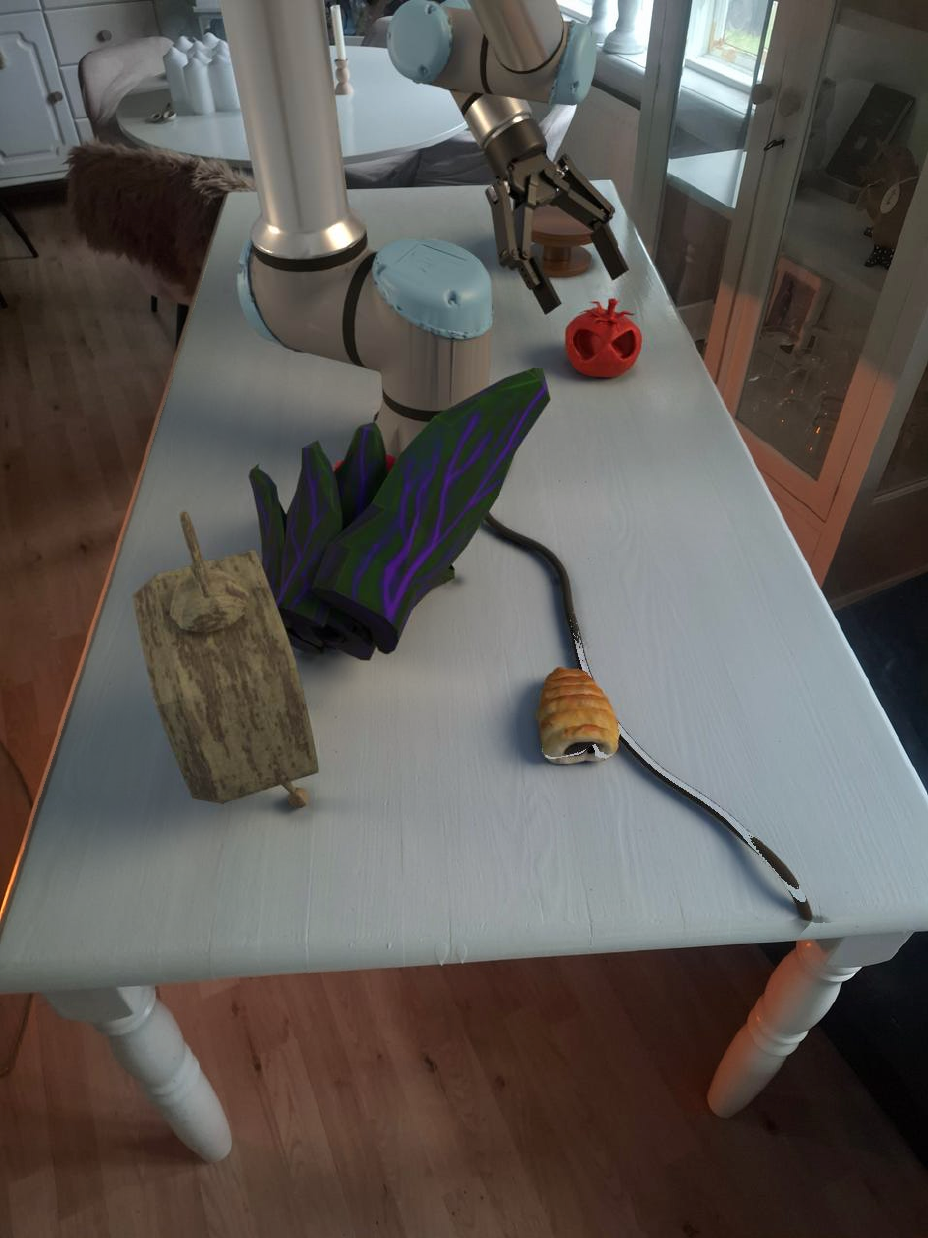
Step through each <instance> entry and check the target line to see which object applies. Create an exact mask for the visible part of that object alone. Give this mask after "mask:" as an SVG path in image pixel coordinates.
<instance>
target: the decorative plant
mask: <svg viewBox="0 0 928 1238" xmlns="http://www.w3.org/2000/svg"><path fill="white" fill-rule="evenodd" d="M550 401H551V395H550V391H549V387H548V382H547V379H546V375H545V370H544V368H543V367H530V368H529V369H526V370H522V371H520V372H517V373H515V374H511V375H508V376H506V377H503V378H502V379H499V380H498V381H496V382H494V383H493V384H490V385H489V387H487V388H485V389H483V390H482V391H480V392H478V393H476V394H474V395H472V396H471V397H469V398H467V399H465V400H463V401H461V402H460V403H458V404H456V405H454V406H452V407H451V408H449V409H447V410H445V411H443V412H441V413H440V414H438V415H436V416H434V418H433V419H432V420H431V421H430V422H429V423H428V424H427V425H426V426H425V427H424V429H423V430H422V431H421V432H420V433H419V434H418V435H417V436H416V437H415V438H414V440H413V441H412V442H411V443H410V444H409V445H408V446H407V447H406V448H405V450H404V451H403V452H402V453H401V454H400V455H399V457H398V459H397V460H396V459H395V458H394V457H393V456H391V455H388V454H386V450H385V446H384V442H383V437H382V434H381V431H380V429H379V428H378V426H377V424H376V421H375V422H373V421H371V422H368V423H365V424H362V425H359V426H358V427H357V429H356V430H355V431H354V434H353V436H352V439H351V442H350V444H349V445H348V449H347V451H346V453H345V455H344V459H341V460H339V461H337V462H336V464H335V466H334V468H333V466H332V463H331V461H330V460H329V458H328V457H327V455H326V453H325V451H324V450H323V448H322V446H321V443H320V441H319V440H318V439H317V440H315V441H314V442H312V443H311V442H310V443H309V444H308V445H306V446H304V447H302V448H301V460H300V461H301V463H300V464H301V467H300V472H299V477H298V479H297V481H298V482H297V484H296V490H295V493H294V495H293V497H292V499H291V502H290V504H289V506H288V509H287V511H286V512H285V509H284V508H283V505H282V503H281V500H280V498H279V492H278V487H277V486H278V485H276V483H275V482H274V480H273V479H272V478H271V476H270V475H269V474H268V473H266V472H265V471H264V470H262V469H261V468H260V467H259V466H260V463H261V462H259V463H258V464H256V465H255V466H254V467H253V468H251V469H250V471H249V474H248V480H249V483H250V486H251V489H252V494H253V499H254V503H255V507H256V513H257V518H258V526H259V533H260V541H261V543H260V544H261V545H260V546H261V565H262V567H263V570H264V573H265V575H266V578H267V580H268V583H269V586H270V588H271V591H272V594H273V596H274V599H275V602H276V605H277V608H278V611H279V613H280V616H281V619H282V622H283V625H284V627H285V630H286V633H287V636H288V639H289V642H290V645H291V647H293V648H295V649H297V650H299V651H301V652H303V653H306V654H307V653H308V654H313V655H317V656H318V655H323V652H324V650H325V649H326V650H338V651H340V652H342V653H344V654H347V655H349V656H351V657H353V658H355V659H358V660H360V661H368V662H370V661H371V659H372V657H373V654H374V653H375V650H376V649H377V650H378V652H380V653H382V654H384V655H389V654H391V653H393V652H394V651H396V649H397V647H398V644H399V642H400V639H401V636H402V635H403V632H404V631H405V628H406V625H407V624H408V623H407V622H408V620H409V619H410V615H411V614H412V611H413V610H414V608H415V607H416V606H417V605H418V604H420V602H421V601H422V600H423V599H424V598H425V597H426V596H427V595H428V594H429V593H430V592H431V591H432V590H434V589H436V588H437V587H439V586H441V585H443V584H445V583H446V582H449V581H453V580H455V578H456V575H455V574H456V573H455V571H456V569H455V567H454V565H453V564H454V562H456V560H457V559H458V558H459V557H460V555H461V554H463V552H464V551H465V549H466V548H468V546H469V544H470V542H471V541H472V540H473V538H474V536H475V534H476V533H477V532H478V530H479V528H480V527H481V525H482V523H483V522H484V521H485V520H484V519H485V517H486V515H487V514H488V512H490V511H491V509H492V507H493V506H494V504H495V502H496V501H497V500H498V499H499V496H500V493H501V491H502V489H503V485H504V483H505V480H506V478H507V475H508V472H509V470H510V468H511V465H512V463H513V460H514V457H515V454H516V452H517V451H518V450H519V448H520V446H521V445H522V443H523V442H524V440H525V439H526V437H527V436H528V434H529V433H530V431H532V428H533V427H534V425H535V424H536V422H537V421H538V419H539V418H540V416H541V415H542V414H543V412H544V410H545V409H546V407H547V406H548V405H549V403H550Z"/></svg>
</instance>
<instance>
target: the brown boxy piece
mask: <svg viewBox="0 0 928 1238" xmlns="http://www.w3.org/2000/svg"><path fill="white" fill-rule="evenodd" d="M179 521H180V525H181V530H182V534H183V537H184V539H185V543H186V546H187V549H188V553H189V556H190V559H191V563H190V565H188V566H184V567H180V568H176V569H172V570H168V571H164V572H160V573H155V574H154V575H152V576H151V578H150V579H148V581H147V582H145V583H144V584H143V585H142V586H141V587H140V588H139V589H138V590H137V591H136V592H135V593H133V594H132V600H133V601H132V602H133V607H134V612H135V618H136V622H137V627H138V633H139V638H140V643H141V648H142V652H143V656H144V661H145V666H146V670H147V674H148V679H149V684H150V689H151V693H152V696H153V700H154V703H155V707H156V710H157V713H158V716H159V719H160V723H161V724H162V725H161V726H162V727H163V731H164V733H165V735H166V738H167V741H168V743H169V746H170V748H171V751H172V753H173V756H174V758H175V762H176V764H177V767H178V769H179V770H180V771H179V772H180V773H181V776H182V778H183V780H184V782H185V783H184V784H185V785H186V788H187V790H188V793H189V794H190V796H191V797H192V799H195V800H200V801H205V802H209V803H216V804H220V805H224V804H227V803H229V802H233V801H236V800H239V799H241V798H245V797H248V796H250V795H254V794H257V793H260V792H262V791H266V790H269V789H273V788H275V787H279V786H282V787H283V789H285V790H286V791H287V792H288V793H289V794H288V803H289V804H290V805H291V806H292V807H293V808H295V809H302V808H304V807H306V806H307V804H308V803H309V802H310V794H309V792H308V791H307V790H306V789H305V788H304V787H298V786H297V787H295V786H294V785H293V781H297V780H301V779H304V778H307V777H309V776H313V775H315V774H318V773H319V769H320V767H319V763H318V756H317V750H316V745H315V744H316V743H315V739H314V738H315V737H314V734H313V729H312V724H311V720H310V714H309V711H308V706H307V701H306V696H305V692H304V688H303V684H302V679H301V676H300V675H301V674H300V672H299V667H298V664H297V661H296V657H295V655H294V651H293V648H292V646H291V645H290V642H289V639H288V636H287V633H286V630H285V627H284V625H283V622H282V619H281V616H280V613H279V611H278V608H277V605H276V602H275V599H274V596H273V594H272V591H271V588H270V586H269V583H268V580H267V578H266V575H265V573H264V570H263V567H262V561H261V560H260V557H259V555H258V553H257V551H256V549H253V550H248V551H245V552H244V551H243V552H240V553H236V554H232V555H227V556H224V557H221V558H216V559H212V560H208V561H206V560H205V559H204V558H203V555H202V553H201V552H202V551H201V549H200V545H199V540H198V537H197V534H196V530H195V526H194V524H193V521H192V518H191V516H190V513H189V512H188V511H187V510H182V511H181V512H180V513H179Z"/></svg>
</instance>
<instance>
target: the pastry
mask: <svg viewBox="0 0 928 1238" xmlns="http://www.w3.org/2000/svg"><path fill="white" fill-rule="evenodd" d="M593 679H594V678H593ZM593 679H592V678H591V677H590V676H589V675H588V673H587V672H585V671H582V670H579V668H566V667H564V666H558V667H556V668H555V669H553V670H552V671H551V672H549V673H548V675H546V677H545V680H544V681H543V685H542V687H541V692H540V693H539V698H540V699H538V705H539V704H540V705H539V706H538V708H537V710H536V712H535V718H536V720H538V721H537V722H538V726H539V727H538V728H539V731H540V743H541V746H542V745H543V750H542V749H541V752H542V751H543V753H544V754H545V755H548V756H550V757H561V756H566V755H570V754H574V753H577V752H578V753H579V752H581V751H583V750H585V749H586V750H585V751H584V752H583V753H581V754H579V755H574V756H568V757H562V758H556V759H548V758H546V757H545V756H544V755H543V754H542V756H543V758H545V759H547V761H549V762H550V763H551V764H555V765H573V764H577V763H581V762H584V761H588V762H604V761H607V760H608V759H610V758H607V759H605V758H599V757H597V756H595V750H594V748H593V746H592V745H594V744H596V746H597V747H598V749H599V751H600V752H604V754H606V755H610V754H613V753H615V754H616V752H617V750H618V749H619V729H618V722H619V721H618V722H617V720H618V718H617V717H616V715H615V711H614V707H613V706H612V704H611V702H610V700H609V698H608V697H607V696H606V695H605V693H604V691H603V689H602V688H600V687H599V685H598V684H597V683H596V681H595V679H594V680H593ZM594 681H595V682H594Z"/></svg>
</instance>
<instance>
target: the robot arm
mask: <svg viewBox="0 0 928 1238" xmlns="http://www.w3.org/2000/svg"><path fill="white" fill-rule="evenodd" d="M218 2H219V8H220V12H221V17H222V22H223V26H224V32H225V37H226V42H227V47H228V52H229V57H230V63H231V66H232V71H233V73H232V74H233V77H234V83H235V88H236V92H237V98H238V102H239V108H240V112H241V118H242V124H243V128H244V132H245V137H246V138H245V139H246V142H247V147H248V153H249V159H250V163H251V168H252V173H253V178H254V183H255V188H256V194H257V198H258V203H259V209H260V214H259V215H258V217H257V218H255V221H254V222H253V223H252V225H251V227H250V230H249V234H250V235H249V236H250V237H249V238H248V239H247V240H246V242H245V244H244V246H243V247H242V249H241V252H240V255H239V258H238V259H239V260H238V265H239V266H240V269H241V271H240V272H238V273H237V274H236V287H237V294H238V299H239V303H240V306H241V309H242V313H243V314H244V316H245V318H246V320H247V322H248V323H249V325H250V327H252V329H253V330H254V331H255V332H256V333H257V334H258V336H260V337H261V338H263V339H264V340H266V341H268V342H270V343H271V344H272V343H273V344H275V345H277V346H281V347H283V348H284V349H287V350H290V351H293V352H294V353H299V354H309V355H314V356H317V357H320V358H325V359H328V360H333V361H337V362H340V363H344V364H347V365H350V366H351V365H352V366H355V367H360V368H364V369H368V370H371V371H375V372H377V373H378V374H380V380H381V381H380V382H381V394H382V395H381V397H382V399H381V404H380V407H379V410H378V411H377V412H376V413H375V414H374V416H373V420H372V422H375V423H376V424H377V426H378V428H379V429H380V431H381V434H382V437H383V442H384V446H385V450H386V454H388V455H391V456H393V457H394V458H395V459H396V460H397V459H398V457H399V455H400V454H401V453H402V452H403V451H404V450H405V448H406V447H407V446H408V445H409V444H410V443H411V442H412V441H413V440H414V438H415V437H416V436H417V435H418V434H419V433H420V432H421V431H422V430H423V429H424V427H425V426H426V425H427V424H428V423H429V422H430V421H431V420H432V419H433V418H434V416H436V415H438V414H440V413H441V412H443V411H445V410H447V409H449V408H451V407H452V406H454V405H456V404H458V403H460V402H461V401H463V400H465V399H467V398H469V397H471V396H472V395H474V394H476V393H478V392H480V391H482V390H483V389H485V388H487V387H489V386H490V373H491V370H490V369H491V353H492V352H491V351H492V334H493V333H492V331H493V321H494V316H495V315H494V313H495V311H494V305H493V291H492V290H493V289H492V280H491V276H490V274H489V271H487V269H486V267H485V265H484V264H483V262H482V261H481V259H479V258H478V257H477V256H476V255H475V254H473V253H472V252H470V251H469V250H466V249H465V248H463V247H461V246H459V245H457V244H454V243H451V242H448V241H444V240H441V239H437V238H430V237H421V239H416V238H413V237H405V238H399V239H395V240H392V241H390V242H387V243H386V244H384V245H382V246H381V247H380V249H379V250H372V249H371V248H370V246H369V241H368V240H369V239H368V232H367V224H366V219H365V218H364V216H363V215H362V214H361V212H359V211H358V210H357V209H355V208H354V207H353V206H351V205H350V204H349V199H348V190H347V181H346V174H345V164H344V155H343V150H342V140H341V134H340V133H341V132H340V124H339V114H338V108H337V99H336V90H335V81H334V74H333V65H332V57H331V48H330V40H329V32H328V24H327V16H326V15H327V14H326V8H325V0H218ZM563 17H564V16H563V14H562V12H561V10H560V7H559V4H558V1H557V0H444V1H442V2H441V3H439V2H438V1H436V0H408V1H406V2H403V4H401V5H400V6H398V8H397V9H396V10H395V12H394V13H393V15H392V17H391V19H390V22H389V24H388V28H387V34H386V47H387V53H388V56H389V59H390V61H391V63H392V66H393V67H394V68H395V70H396V71H397V72H398V73H399V74H400V75H401V76H403V77H404V78H406V79H408V80H410V81H412V83H414V84H417V85H427V86H431V87H435V88H440V89H443V90H446V91H449V93H450V95H451V97H452V98H453V101H454V102H455V104H456V106H457V108H458V109H459V111H460V113H461V116H462V117H463V119H464V121H465V122H466V125H467V126H468V127H467V128H469V130H470V133H471V134H472V137H473V138H474V140H475V142H476V143H477V146H478V148H479V149H482V150H484V151H483V155H482V156H483V158H484V160H485V163H486V164H487V166H488V168H489V170H490V172H491V173H492V176H493V177H494V179H495V180H493V182H492V183H491V184H489V186H488V187H487V188H486V189H485V191H484V194H485V197H486V199H487V202H488V204H489V206H490V209H491V216H492V218H491V219H492V224H493V232H494V239H495V240H494V241H495V247H496V254H497V261H498V264H499V266H500V267H502V268H505V267H508V269H509V270H510V271H516V269H517V271H518V273H519V274H520V276H521V279H522V280H523V283H524V284H525V286H526V288H527V289H528V290H529V291H532V293H533V296H534V298H535V299H536V301H537V303H538V304H539V307H540V309H541V310H542V312H543V314H544V315H545V316H546V315H548V314H550V313H551V312H553V311H554V310H555V309H557V308H558V307H560V306H561V305H563V304H562V301H561V299H560V297H559V295H558V293H557V291H556V289H555V288H554V285H553V283H552V282H551V279H550V278H549V276H547V274H546V272H545V270H544V268H543V266H542V264H541V262H540V260H539V258H538V257H537V255H535V256H533V257H532V258H530V259H529V257H530V250H531V245H532V242H531V236H532V222H533V211H535V210H536V209H537V208H538V207H544V206H547V205H548V204H549V205H550V206H553V207H554V206H557V207H559V208H560V209H562V210H563V211H564V212H566V213H567V214H569V215H570V216H572V217H573V218H575V219H576V220H578V221H579V222H581V223H582V224H583V225H585V226H586V227H588V228H589V229H591V230H592V231H594V232H593V233H592V234H591V235H589V236H590V238H591V240H592V242H593V243H592V244H593V246H594V247H595V250H596V251H597V254H598V256H599V258H600V260H601V261H602V264H603V266H604V268H605V269H606V272H607V273H608V275H609V277H610V279H611V281H612V282H613V281H615V280H616V279H618V278H620V277H621V276H622V275H624V274H625V273H627V272H628V271H629V270H630V268H629V266H628V264H627V262H626V260H625V258H624V256H623V254H622V252H621V250H620V248H619V242H618V240H617V238H616V236H615V234H614V232H613V230H612V228H611V226H610V221H612V220H613V218H614V215H615V213H616V208H615V206H613V204H611V202H610V201H609V200H608V199H607V198H606V197H605V196H604V195H603V194H602V193H601V192H600V191H599V190H598V189H597V188H596V186H594V185H593V184H592V183H591V182H590V181H589V180H588V179H587V177H586V176H584V174H582V173H581V171H580V170H579V169H578V168H577V167H576V165H575V163H574V162H573V160H572V158H571V156H570V155H569V154H568V153H565V152H564V153H563V154H562V155H560V157H558V159H556V160H555V161H554V162H553V161H552V160H551V159H550V158H549V156H548V153H547V150H548V145H549V144H548V141H547V139H546V137H545V135H544V133H543V131H542V129H541V127H540V125H539V123H538V121H537V119H535V118H533V117H532V114H533V111H532V108H531V107H530V105H529V104H530V103H528V101H529V102H535V103H539V104H540V103H541V104H546V105H548V106H552V105H561V106H572V107H573V106H577V105H579V104H581V103H582V102H583V101H584V99H586V96H587V95H588V93H589V91H590V89H591V85H592V82H593V78H594V74H595V70H596V65H597V57H598V40H597V35H596V33H595V30H594V29H593V27H591V26H590V25H589V24H586V23H581V22H578V21H577V22H576V20H575V19H571V20H570V21H569V20H564V18H563ZM511 199H512V200H513V201H511ZM511 202H512V203H511ZM601 209H603V211H601ZM512 210H513V212H512ZM513 217H514V224H513ZM593 219H595V220H593ZM483 521H485V523H487V525H488V526H490V527H491V528H492V529H493V530H495V532H497V533H499V534H500V535H502V536H504V537H505V538H507V539H510V540H512V541H514V542H516V543H518V544H520V545H523V546H525V547H527V548H528V549H529V548H530V549H531V550H533V551H535V552H537V553H538V554H540V555H541V556H543V557H544V558H545V559H546V560H547V561H548V563H550V564H551V566H552V567H553V570H555V572H556V574H557V576H558V579H559V582H560V583H559V584H560V587H561V594H562V595H561V596H562V603H563V610H564V615H565V619H566V623H567V626H568V630H569V635H570V638H571V643H572V649H573V652H574V658H575V661H576V665H577V669H579V670H582V667H581V664H580V660H579V657H578V653H577V649H576V644H575V640H576V641H577V643H579V638H580V640H581V643H580V645H581V644H582V648H583V653H584V656H585V660H586V663H587V666H588V669H589V672H590V674H591V676H592V679H593V680H594V682H595V683H596V680H595V678H594V677H593V674H592V671H591V669H590V667H589V664H588V659H587V657H586V652H585V649H584V643H583V640H582V635H581V631H580V627H579V623H578V620H577V616H576V613H575V608H574V603H573V594H572V588H571V582H570V578H569V575H568V572H567V570H566V568H565V566H564V565H563V563H562V561H561V560H560V558H559V557H558V556H557V555H556V554H555V553H554V552H553V551H551V550H550V549H549V548H548V547H546V546H545V545H543V544H542V543H541V542H538V541H536V540H534V539H533V538H530V537H527V536H526V535H523V534H521V533H519V532H517V531H514V530H512V529H510V528H508V527H507V526H506V525H503V524H502V523H501V522H499V520H498V519H496V518H495V517H494V516H493V515H492V513H491V512H490V511H489V512H488V514H487V515H486V517H485V519H484V520H483ZM573 612H574V613H573ZM570 620H571V621H570ZM576 623H577V624H576ZM571 626H572V627H571ZM578 631H579V635H580V636H579V635H578ZM573 633H574V635H575V636H576V637H575V636H574V635H573ZM577 636H578V638H577ZM574 639H575V640H574ZM579 648H580V646H579ZM582 661H583V660H582ZM582 671H583V670H582ZM617 721H618V723H619V724H620V725H621V726H622V724H621V723H620V722H619V720H618V719H617ZM622 728H623V729H624V730H625V731H626V733H627V734H628V735H629V736H630V737H631V738H632V739H633V737H632V736H631V735H630V733H628V732H627V730H626V729H625V728H624V727H623V726H622ZM618 741H620V742H621V744H622V745H623V746H624V747H625V748H626V749H627V751H629V752H630V753H631V755H632V756H633V757H634V758H635V759H636V760H637V761H638V762H639V763H640V764H641V765H643V766H644V768H645V769H646V770H648V771H649V772H650V773H651V774H653V775H654V776H655V777H656V778H658V779H659V780H660V781H661V782H663V783H665V785H667V786H669V787H670V788H672V789H673V790H674V791H676V792H677V793H679V794H681V795H682V796H684V797H685V798H687V799H688V800H690V801H692V802H694V803H695V804H696V805H698V806H699V807H701V808H702V809H703V810H705V811H706V812H707V813H709V814H710V815H712V816H713V817H714V818H715V819H717V820H718V821H719V822H720V823H721V824H722V825H724V826H725V827H726V828H727V829H728V830H729V831H731V832H732V833H733V834H734V835H735V836H736V837H737V838H738V839H740V840H741V841H742V842H743V843H744V844H745V845H746V846H747V847H749V848H750V849H751V850H752V851H754V853H756V854H757V855H758V856H759V854H758V853H757V852H756V851H755V850H754V849H753V848H752V847H751V846H750V845H749V844H748V842H747V841H746V840H745V839H744V838H743V836H742V835H741V834H740V833H739V832H738V831H737V830H736V829H735V828H734V827H733V826H732V825H731V824H730V823H729V822H728V821H727V820H726V819H725V818H724V817H723V816H721V815H720V814H719V813H718V812H716V811H715V810H714V809H712V808H711V807H710V806H708V805H707V804H705V803H704V802H703V801H701V800H700V799H698V798H697V797H695V796H693V795H692V794H690V793H689V792H687V791H686V790H684V789H683V788H681V787H679V786H678V785H676V784H675V783H673V782H672V781H670V780H669V779H668V778H666V777H665V776H663V775H662V774H661V773H659V772H658V771H657V770H655V769H654V768H653V767H652V766H651V765H650V764H648V763H647V762H646V761H645V760H644V759H643V758H642V757H641V756H640V755H639V754H638V753H637V752H636V751H635V750H634V749H633V748H632V747H631V746H630V745H629V743H628V742H627V741H626V740H625V739H624V738H623V737H622V736H621V734H620V735H619V739H618ZM635 743H636V744H637V745H638V746H639V747H640V748H641V749H642V750H643V751H644V752H645V753H646V754H647V755H648V756H649V757H650V758H652V757H651V756H650V755H649V754H648V753H647V752H646V751H645V750H644V749H643V748H642V746H640V745H639V744H638V743H637V742H636V741H635ZM654 761H655V762H656V763H657V764H658V765H660V764H659V763H658V762H657V761H656V760H654ZM661 767H662V768H663V769H665V768H664V767H663V766H661ZM665 770H666V771H667V772H669V771H668V770H667V769H665ZM669 773H670V774H672V773H671V772H669ZM672 775H673V776H675V775H674V774H672ZM675 777H676V778H678V777H677V776H675ZM678 779H679V780H681V779H680V778H678ZM681 781H682V782H684V781H683V780H681ZM684 783H685V784H687V783H686V782H684ZM687 785H688V786H690V787H692V786H691V785H689V784H687ZM692 788H693V789H695V788H694V787H692ZM695 790H696V791H698V790H697V789H695ZM698 792H699V793H701V794H703V793H702V792H700V791H698ZM703 795H704V796H705V797H707V798H708V799H710V800H711V801H713V800H712V799H711V798H709V797H708V796H707V795H705V794H703ZM713 802H714V803H715V804H717V803H716V802H715V801H713ZM717 805H718V806H719V807H721V806H720V805H719V804H717ZM721 808H722V807H721ZM722 809H723V810H725V809H724V808H722ZM726 812H727V813H728V814H729V815H730V816H732V814H730V813H729V812H728V811H726ZM733 818H734V819H735V820H736V821H737V822H739V821H738V820H737V819H736V818H735V817H733ZM741 825H742V826H743V827H745V826H744V825H743V824H741ZM748 831H749V832H751V831H750V830H748ZM749 836H750V835H749ZM751 837H752V836H751ZM755 837H756V836H755ZM755 837H753V838H750V839H751V840H752V841H751V842H752V843H753V842H754V843H753V845H754V846H756V850H759V853H760V854H762V857H764V858H765V860H767V862H768V863H769V864H770V865H771V866H772V868H774V869H775V871H776V872H777V873H778V874H779V876H781V878H782V879H783V880H784V881H785V882H787V884H788V885H791V886H792V887H794V888H795V889H799V885H800V883H799V881H798V880H797V878H796V877H795V875H794V873H792V871H791V870H790V869H789V867H788V866H787V864H785V863H784V861H783V860H782V859H781V858H780V857H779V856H778V855H777V854H776V853H775V852H774V851H773V850H771V849H770V848H769V846H767V845H766V844H765V843H764V842H762V841H761V840H760V839H759V838H758V837H757V838H758V839H759V840H758V839H757V838H755ZM763 843H764V844H765V845H764V844H763ZM772 868H771V869H772ZM775 871H774V872H775ZM776 872H775V873H776ZM779 876H778V877H779ZM797 881H798V882H797ZM798 883H799V884H798ZM797 887H798V888H797ZM787 891H788V893H789V894H790V896H791V898H792V900H793V903H794V905H795V907H796V909H797V912H798V915H799V916H800V917H801V919H803V920H804V921H806V922H811V921H812V920H813V911H812V909H811V905H810V903H809V901H808V898H807V896H806V895H805V897H806V901H805V902H800V901H799V900H797V899H796V898H795V897H793V895H792V894H791V893H790V891H789V890H788V889H787Z"/></svg>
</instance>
